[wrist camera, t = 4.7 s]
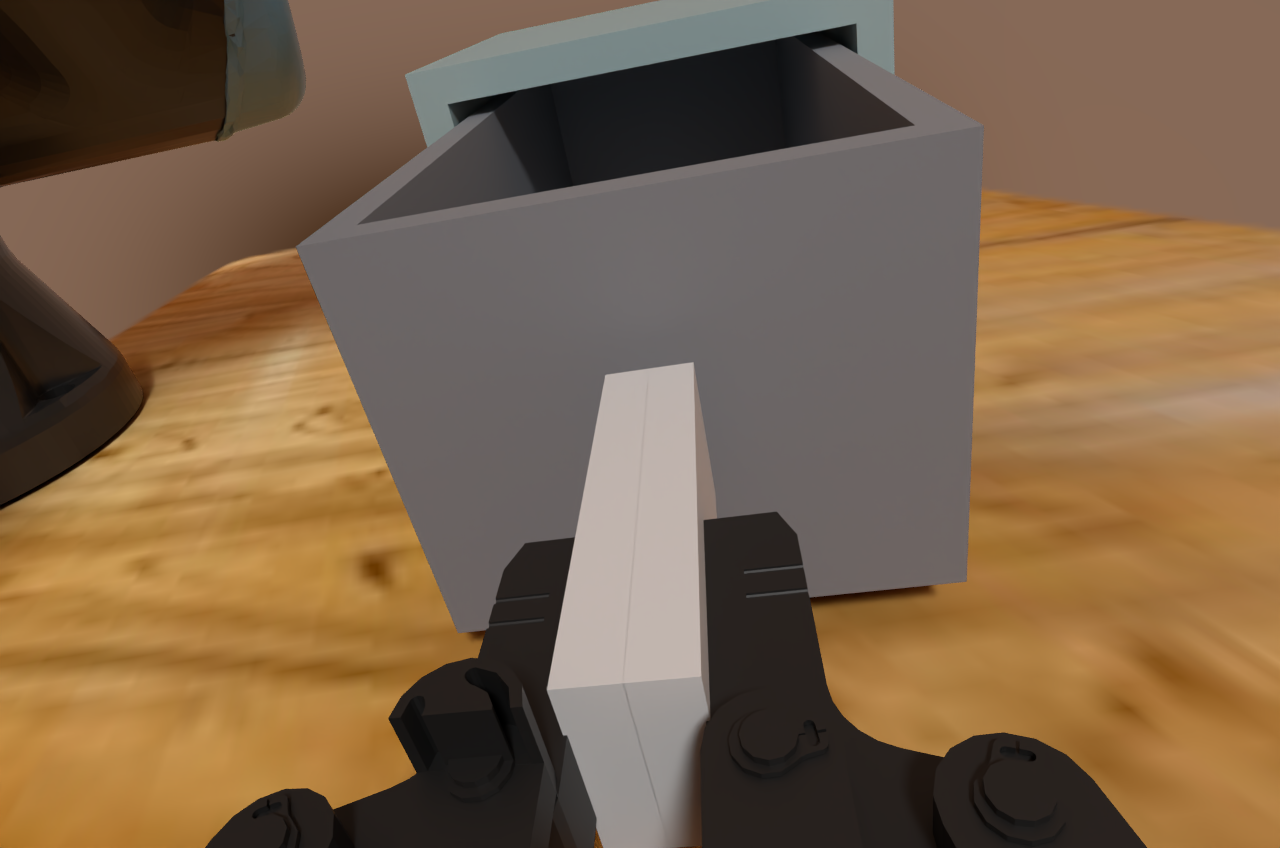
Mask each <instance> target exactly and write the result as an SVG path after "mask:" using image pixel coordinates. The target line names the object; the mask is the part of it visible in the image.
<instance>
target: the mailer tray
mask: <svg viewBox="0 0 1280 848" xmlns="http://www.w3.org/2000/svg"><path fill="white" fill-rule="evenodd" d="M983 132H984V126H983V125H982V124H980V123H979V122H977V121H975V120H973V119H971V118H970V117H968V116H966V115H964V114H963V113H961V112H959V111H957V110H956V109H954V108H952V107H950V106H948V105H947V104H945V103H943V102H941V101H940V100H938V99H936V98H934V97H933V96H931V95H929V94H927V93H925V92H924V91H922V90H920V89H918V88H917V87H915V86H913V85H911V84H909V83H908V82H906V81H904V80H902V79H900V78H899V77H897V76H895V75H894V74H892V73H890V72H888V71H886V70H885V69H883V68H881V67H879V66H878V65H876V64H874V63H872V62H871V61H869V60H867V59H865V58H863V57H862V56H860V55H858V54H856V53H855V52H853V51H851V50H849V49H848V48H846V47H844V46H842V45H840V44H839V43H837V42H835V41H833V40H832V39H830V38H828V37H826V36H825V35H823V34H821V33H819V32H817V31H816V32H811V33H806V34H801V35H796V36H790V37H785V38H780V39H775V40H770V41H765V42H760V43H755V44H750V45H745V46H740V47H735V48H730V49H725V50H720V51H714V52H709V53H704V54H699V55H694V56H689V57H684V58H679V59H674V60H669V61H664V62H659V63H654V64H649V65H643V66H638V67H633V68H628V69H623V70H618V71H613V72H608V73H603V74H598V75H593V76H588V77H583V78H578V79H573V80H567V81H562V82H557V83H552V84H547V85H542V86H537V87H532V88H527V89H522V90H517V91H512V92H507V93H502V94H498V95H497V96H495V97H494V98H493V99H491V100H490V101H489V102H487V103H486V104H485V105H483V106H482V107H481V108H479V109H478V110H477V111H475V112H474V113H473V114H471V115H470V116H469V117H467V118H466V119H465V120H463V121H462V122H461V123H459V124H458V125H457V126H455V127H454V128H453V129H451V130H450V131H449V132H447V133H446V134H445V135H443V136H442V137H441V138H439V139H438V140H437V141H436V142H434V143H433V144H432V145H430V146H429V147H428V148H426V149H425V150H424V151H422V152H421V153H420V154H418V155H417V156H416V157H414V158H413V159H412V160H410V161H409V162H408V163H406V164H405V165H404V166H402V167H401V168H400V169H398V170H397V171H396V172H394V173H393V174H392V175H390V176H389V177H388V178H386V179H385V180H384V181H382V182H381V183H380V184H379V185H377V186H376V187H375V188H373V189H372V190H370V191H369V192H368V193H367V194H365V195H364V196H363V197H361V198H360V199H359V200H358V201H356V202H355V203H353V204H352V205H351V206H349V207H348V208H347V209H345V210H344V211H343V212H341V213H340V214H339V215H337V216H336V217H335V218H333V219H332V220H331V221H330V222H328V223H327V224H325V225H324V226H323V227H322V228H320V229H319V230H317V231H316V232H315V233H313V234H312V235H311V236H309V237H308V238H307V239H305V240H304V241H303V242H301V243H300V244H299V245H297V246H296V249H297V251H298V253H299V256H300V258H301V261H302V263H303V265H304V268H305V270H306V272H307V275H308V277H309V280H310V282H311V284H312V287H313V289H314V291H315V294H316V296H317V299H318V301H319V303H320V306H321V308H322V310H323V313H324V315H325V318H326V320H327V322H328V325H329V327H330V330H331V332H332V334H333V337H334V339H335V341H336V344H337V346H338V349H339V351H340V353H341V356H342V358H343V360H344V363H345V365H346V368H347V370H348V372H349V375H350V377H351V379H352V382H353V384H354V387H355V389H356V391H357V394H358V396H359V398H360V401H361V403H362V406H363V408H364V410H365V413H366V415H367V417H368V420H369V422H370V425H371V427H372V429H373V432H374V434H375V436H376V439H377V441H378V444H379V446H380V448H381V451H382V453H383V456H384V458H385V460H386V463H387V465H388V467H389V470H390V472H391V475H392V477H393V479H394V482H395V484H396V486H397V489H398V491H399V494H400V496H401V498H402V501H403V503H404V505H405V508H406V510H407V513H408V515H409V517H410V520H411V522H412V524H413V527H414V529H415V532H416V534H417V536H418V539H419V541H420V543H421V546H422V548H423V551H424V553H425V555H426V558H427V560H428V562H429V565H430V567H431V570H432V572H433V574H434V577H435V579H436V582H437V584H438V586H439V589H440V591H441V593H442V596H443V598H444V601H445V603H446V605H447V608H448V610H449V612H450V615H451V617H452V620H453V622H454V624H455V627H456V629H457V631H458V633H464V632H473V631H483V630H486V629H487V628H489V623H488V622H489V619H490V615H491V612H492V608H493V605H494V604H496V599H495V598H496V595H497V591H498V588H499V584H500V581H501V578H502V574H503V571H504V569H505V567H506V566H507V565H508V564H509V563H510V561H511V560H512V559H513V558H514V556H515V555H516V554H517V553H518V551H519V550H520V549H521V548H522V546H523V545H524V544H525V543H530V542H538V541H547V540H556V539H564V538H573V537H575V536H576V530H577V525H578V519H579V514H580V509H581V503H582V498H583V493H584V487H585V482H586V476H587V471H588V466H589V460H590V455H591V450H592V444H593V439H594V433H595V428H596V423H597V417H598V412H599V407H600V401H601V396H602V390H603V385H604V380H605V375H608V374H615V373H622V372H629V371H635V370H642V369H649V368H656V367H663V366H670V365H677V364H684V363H691V362H694V368H695V374H696V380H697V386H698V392H699V398H700V404H701V410H702V416H703V422H704V428H705V434H706V440H707V446H708V452H709V458H710V464H711V470H712V476H713V482H714V488H715V495H716V512H717V518H725V517H734V516H742V515H751V514H759V513H768V512H778V513H779V515H780V516H781V517H782V518H783V519H784V520H785V521H786V522H787V524H788V525H789V526H790V527H791V528H792V529H793V530H794V531H795V532H796V534H797V536H798V541H799V546H800V551H801V556H802V561H803V568H804V572H805V577H806V582H807V587H808V593H809V597H819V596H829V595H839V594H849V593H859V592H869V591H878V590H888V589H898V588H908V587H918V586H928V585H938V584H948V583H957V582H966V581H967V555H968V528H969V502H970V476H971V450H972V423H973V397H974V371H975V345H976V318H977V292H978V266H979V240H980V213H981V187H982V161H983V160H982V159H983V135H984V133H983Z"/></svg>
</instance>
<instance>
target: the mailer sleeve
mask: <svg viewBox="0 0 1280 848" xmlns="http://www.w3.org/2000/svg"><path fill="white" fill-rule="evenodd" d="M893 23H894V22H893V0H660V1H655V2H650V3H646V4H641V5H636V6H631V7H626V8H622V9H617V10H612V11H607V12H602V13H598V14H593V15H588V16H583V17H579V18H574V19H569V20H564V21H559V22H554V23H549V24H545V25H540V26H535V27H530V28H525V29H521V30H516V31H511V32H506V33H501V34H499V35H496V36H494V37H492V38H489V39H487V40H485V41H482V42H480V43H478V44H475V45H473V46H471V47H468V48H466V49H464V50H461V51H459V52H457V53H454V54H452V55H450V56H448V57H445V58H443V59H440V60H438V61H436V62H433V63H431V64H429V65H426V66H424V67H422V68H420V69H417V70H415V71H413V72H410V73H408V74H406V75H405V76H406V80H407V83H408V86H409V90H410V93H411V96H412V99H413V102H414V106H415V109H416V112H417V115H418V118H419V121H420V125H421V128H422V131H423V134H424V138H425V141H426V144H427V147H429V146H430V145H432V144H433V143H434V142H436V141H437V140H438V139H439V138H441V137H442V136H443V135H445V134H446V133H447V132H449V131H450V130H451V129H453V128H454V127H455V126H457V125H458V124H459V123H461V122H462V121H463V120H465V119H466V118H467V117H469V116H470V115H471V114H473V113H474V112H475V111H477V110H478V109H479V108H481V107H482V106H483V105H485V104H486V103H487V102H489V101H490V100H491V99H493V98H494V97H495V96H497V95H498V94H502V93H507V92H512V91H517V90H522V89H527V88H532V87H537V86H542V85H547V84H552V83H557V82H562V81H567V80H573V79H578V78H583V77H588V76H593V75H598V74H603V73H608V72H613V71H618V70H623V69H628V68H633V67H638V66H643V65H649V64H654V63H659V62H664V61H669V60H674V59H679V58H684V57H689V56H694V55H699V54H704V53H709V52H714V51H720V50H725V49H730V48H735V47H740V46H745V45H750V44H755V43H760V42H765V41H770V40H775V39H780V38H785V37H790V36H796V35H801V34H806V33H811V32H816V31H817V32H819V33H821V34H823V35H825V36H826V37H828V38H830V39H832V40H833V41H835V42H837V43H839V44H840V45H842V46H844V47H846V48H848V49H849V50H851V51H853V52H855V53H856V54H858V55H860V56H862V57H863V58H865V59H867V60H869V61H871V62H872V63H874V64H876V65H878V66H879V67H881V68H883V69H885V70H886V71H888V72H890V73H892V74H894V24H893Z"/></svg>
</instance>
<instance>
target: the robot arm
mask: <svg viewBox="0 0 1280 848" xmlns="http://www.w3.org/2000/svg"><path fill="white" fill-rule="evenodd" d="M305 76H306V75H305V70H304V65H303V59H302V55H301V50H300V46H299V42H298V38H297V33H296V30H295V26H294V22H293V18H292V14H291V10H290V7H289V3H288V0H0V187H3V186H7V185H11V184H16V183H20V182H25V181H30V180H35V179H39V178H44V177H48V176H53V175H57V174H62V173H66V172H71V171H76V170H81V169H85V168H90V167H95V166H99V165H103V164H108V163H113V162H118V161H122V160H127V159H131V158H136V157H141V156H145V155H150V154H154V153H158V152H164V151H168V150H173V149H178V148H182V147H187V146H191V145H196V144H200V143H205V142H210V141H218V142H219V141H224V140H227V139H229V138H230V137H231V136H232V135H233V133H235V132H238V131H242V130H245V129H248V128H252V127H255V126H258V125H261V124H265V123H268V122H271V121H275V120H278V119H281V118H283V117H285V116H287V115H289V114H290V113H292V112H293V111H294V110H295V109H296V108H297V107H298V106H299V104H300V103H301V101H302V99H303V96H304V93H305V88H306V77H305ZM142 399H143V390H142V388H141V386H140V384H139V383H138V381H137V379H136V377H135V376H134V374H133V372H132V371H131V369H130V367H129V365H128V364H127V362H126V360H125V359H124V357H123V355H122V354H121V353H120V351H119V350H118V349H117V348H116V347H115V346H114V345H113V344H112V343H111V342H110V341H109V340H108V339H106V338H105V337H104V336H103V335H102V334H101V333H100V332H99V331H97V330H96V329H95V328H94V327H93V326H92V325H91V324H90V323H88V322H87V321H86V320H85V319H84V318H83V317H82V316H81V315H80V314H78V313H77V312H76V311H75V310H74V309H73V308H72V307H70V306H69V305H68V304H67V303H66V302H65V301H64V300H63V299H62V298H61V297H59V296H58V295H57V294H56V293H55V292H54V291H52V290H51V289H50V288H49V287H48V286H47V285H46V284H45V283H44V282H42V281H41V280H40V279H39V278H38V277H37V276H36V275H35V274H34V273H32V272H31V271H30V270H29V269H28V268H27V267H26V266H25V265H23V264H22V263H21V262H20V261H19V260H18V259H17V258H16V257H15V256H14V254H13V253H12V252H11V251H10V250H9V249H8V247H7V245H6V244H5V242H4V241H3V239H2V237H1V236H0V505H1V504H3V503H5V502H7V501H9V500H12V499H14V498H16V497H17V496H19V495H21V494H23V493H25V492H27V491H29V490H31V489H33V488H34V487H36V486H38V485H40V484H42V483H43V482H45V481H47V480H49V479H50V478H52V477H54V476H56V475H57V474H59V473H61V472H62V471H64V470H65V469H67V468H69V467H70V466H72V465H73V464H75V463H76V462H78V461H80V460H81V459H83V458H84V457H86V456H87V455H88V454H90V453H91V452H93V451H94V450H95V449H97V448H98V447H99V446H101V445H102V444H103V443H105V442H106V441H107V440H108V439H110V438H111V437H112V436H113V435H114V434H116V433H117V432H118V431H119V430H120V429H121V428H122V427H123V426H124V425H125V424H126V423H127V422H128V421H129V420H130V419H131V418H132V416H133V415H134V414H135V413H136V411H137V410H138V408H139V406H140V404H141V402H142ZM495 599H496V604H494V605H493V608H492V612H491V615H490V619H489V622H488V623H489V628H487V629H486V632H485V636H484V639H483V643H482V646H481V649H480V653H479V656H478V658H469V659H465V660H461V661H457V662H453V663H449V664H445V665H444V666H442V667H440V668H438V669H436V670H434V671H433V672H431V673H429V674H427V675H425V676H423V677H422V678H421V679H420V680H418V681H417V682H416V683H415V684H414V685H413V686H412V687H411V688H410V689H409V690H408V691H407V692H406V693H404V694H403V695H402V696H401V698H400V700H399V701H398V703H397V705H396V706H395V708H394V710H393V711H392V713H391V715H390V716H389V718H388V719H389V721H390V723H391V725H392V727H393V728H394V730H395V732H396V734H397V736H398V738H399V740H400V742H401V744H402V746H403V748H404V749H405V751H406V753H407V755H408V757H409V759H410V761H411V763H412V765H413V767H414V769H415V770H416V772H417V773H416V774H415V775H414V776H412V777H411V778H410V779H408V780H406V781H404V782H402V783H399V784H397V785H395V786H393V787H391V788H389V789H386V790H384V791H381V792H378V793H376V794H373V795H371V796H368V797H365V798H363V799H360V800H357V801H355V802H352V803H350V804H347V805H344V806H342V807H339V808H336V809H334V810H333V809H332V807H331V806H330V804H329V803H328V801H327V799H326V798H325V797H324V796H322V795H320V794H318V793H316V792H314V791H312V790H310V789H308V788H304V789H284V790H281V791H278V792H276V793H273V794H270V795H268V796H265V797H262V798H260V799H258V800H256V801H255V802H253V803H252V804H251V805H249V806H248V807H246V808H245V809H243V810H242V811H240V812H239V813H237V814H236V815H234V816H233V817H232V818H231V819H230V820H229V821H228V822H227V824H226V825H225V826H224V827H223V828H222V829H221V830H220V831H219V832H218V833H217V834H216V835H215V836H214V837H213V838H212V839H211V841H210V842H209V843H208V845H207V846H206V847H205V848H594V841H595V831H596V829H597V831H598V834H599V837H600V840H601V843H602V845H603V848H677V847H694V846H702V848H1147V847H1146V846H1145V844H1144V843H1143V842H1142V841H1141V839H1140V838H1139V837H1138V836H1137V834H1136V833H1135V832H1134V831H1133V829H1132V828H1131V827H1130V826H1129V824H1128V823H1127V822H1126V820H1125V819H1124V818H1123V817H1122V815H1121V814H1120V813H1119V812H1118V810H1117V809H1116V808H1115V807H1114V805H1113V804H1112V803H1111V802H1110V800H1109V799H1108V798H1107V797H1106V795H1105V794H1104V793H1103V792H1102V790H1101V789H1100V788H1099V786H1098V785H1097V784H1096V783H1095V781H1094V780H1093V779H1092V778H1091V777H1090V776H1089V775H1088V774H1087V773H1086V772H1085V771H1084V770H1082V769H1081V768H1080V767H1079V766H1078V765H1077V764H1076V763H1075V762H1074V761H1073V760H1072V759H1071V758H1070V757H1068V756H1067V755H1066V754H1064V753H1062V752H1060V751H1058V750H1056V749H1054V748H1052V747H1050V746H1048V745H1046V744H1044V743H1042V742H1040V741H1038V740H1037V739H1033V738H1028V737H1023V736H1018V735H1013V734H1008V733H995V734H986V735H976V736H972V737H971V738H969V739H967V740H965V741H963V742H961V743H959V744H957V745H956V746H954V747H952V748H950V750H949V751H948V752H947V754H946V755H945V757H940V756H935V755H930V754H926V753H921V752H917V751H912V750H907V749H903V748H899V747H896V746H893V745H889V744H886V743H883V742H880V741H877V740H876V739H874V738H872V737H870V736H868V735H867V734H865V733H863V732H861V731H860V730H858V729H857V728H856V727H855V726H854V725H852V724H851V723H850V722H849V721H848V720H847V719H846V718H844V717H843V715H842V714H841V713H840V711H839V710H838V708H837V707H836V705H835V704H834V703H833V701H832V698H831V696H830V693H829V690H828V687H827V684H826V679H825V673H824V668H823V663H822V658H821V653H820V648H819V643H818V638H817V633H816V628H815V623H814V617H813V612H812V607H811V602H810V597H809V593H808V587H807V582H806V577H805V572H804V568H803V561H802V556H801V551H800V546H799V541H798V536H797V534H796V532H795V531H794V530H793V529H792V528H791V527H790V526H789V525H788V524H787V522H786V521H785V520H784V519H783V518H782V517H781V516H780V515H779V513H778V512H768V513H759V514H751V515H742V516H734V517H725V518H717V512H716V495H715V488H714V482H713V476H712V470H711V464H710V458H709V452H708V446H707V440H706V434H705V428H704V422H703V416H702V410H701V404H700V398H699V392H698V386H697V380H696V374H695V368H694V362H691V363H684V364H677V365H670V366H663V367H656V368H649V369H642V370H635V371H629V372H622V373H615V374H608V375H605V380H604V385H603V390H602V396H601V401H600V407H599V412H598V417H597V423H596V428H595V433H594V439H593V444H592V450H591V455H590V460H589V466H588V471H587V476H586V482H585V487H584V493H583V498H582V503H581V509H580V514H579V519H578V525H577V530H576V536H575V537H573V538H564V539H556V540H547V541H538V542H530V543H525V544H524V545H523V546H522V548H521V549H520V550H519V551H518V553H517V554H516V555H515V556H514V558H513V559H512V560H511V561H510V563H509V564H508V565H507V566H506V567H505V569H504V571H503V574H502V578H501V581H500V584H499V588H498V591H497V595H496V598H495Z"/></svg>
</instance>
